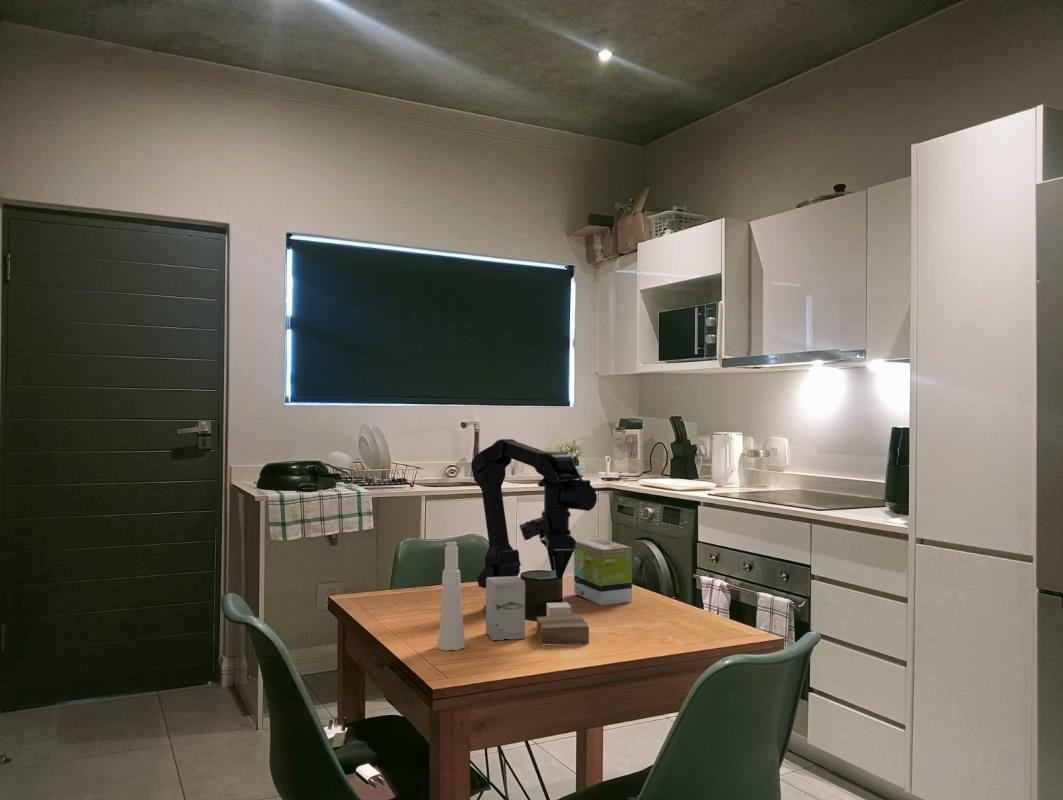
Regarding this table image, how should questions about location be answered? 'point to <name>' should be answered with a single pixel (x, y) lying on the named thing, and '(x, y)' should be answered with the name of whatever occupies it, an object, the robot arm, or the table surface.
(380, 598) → the table surface
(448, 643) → the cosmetic bottle
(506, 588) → the supplement box
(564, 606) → the ceramic cube
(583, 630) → the walnut block
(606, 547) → the tea box
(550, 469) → the robot arm
